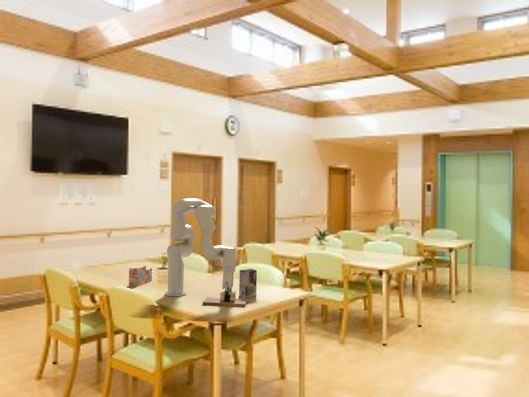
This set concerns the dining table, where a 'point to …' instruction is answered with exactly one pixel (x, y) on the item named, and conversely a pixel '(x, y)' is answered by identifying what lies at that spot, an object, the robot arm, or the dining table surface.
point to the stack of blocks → (139, 275)
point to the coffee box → (247, 283)
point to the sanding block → (232, 296)
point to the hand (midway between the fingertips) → (227, 300)
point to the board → (221, 303)
